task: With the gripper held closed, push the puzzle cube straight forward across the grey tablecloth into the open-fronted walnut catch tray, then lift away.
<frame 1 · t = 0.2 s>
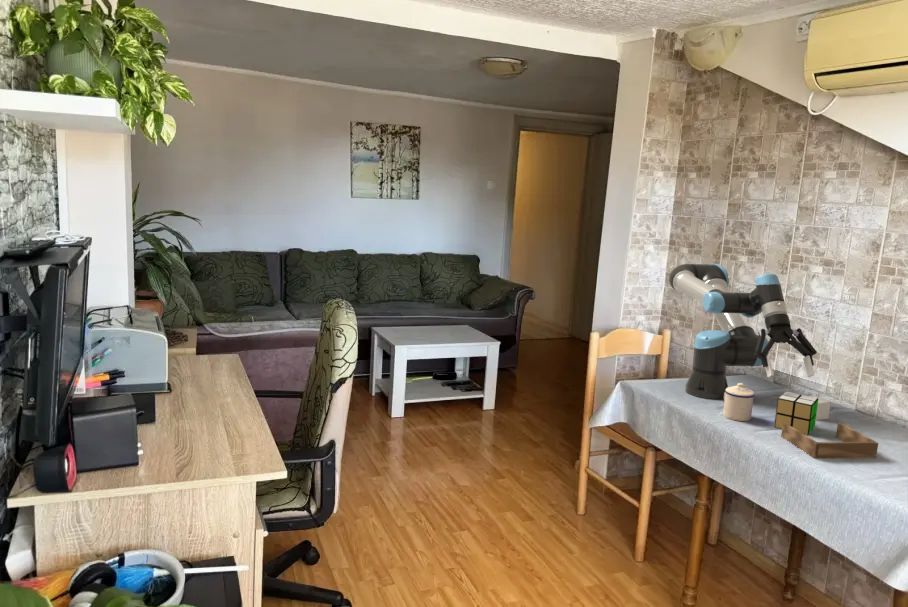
hand: (791, 376, 211), 15 cm above the table, tool tilted 35°, fingers open, 13 cm apart
puzzle cube: (794, 428, 208), on the table
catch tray: (826, 446, 192), on the table
cream white cube: (814, 417, 219), on the table
teacup with lid: (734, 415, 217), on the table
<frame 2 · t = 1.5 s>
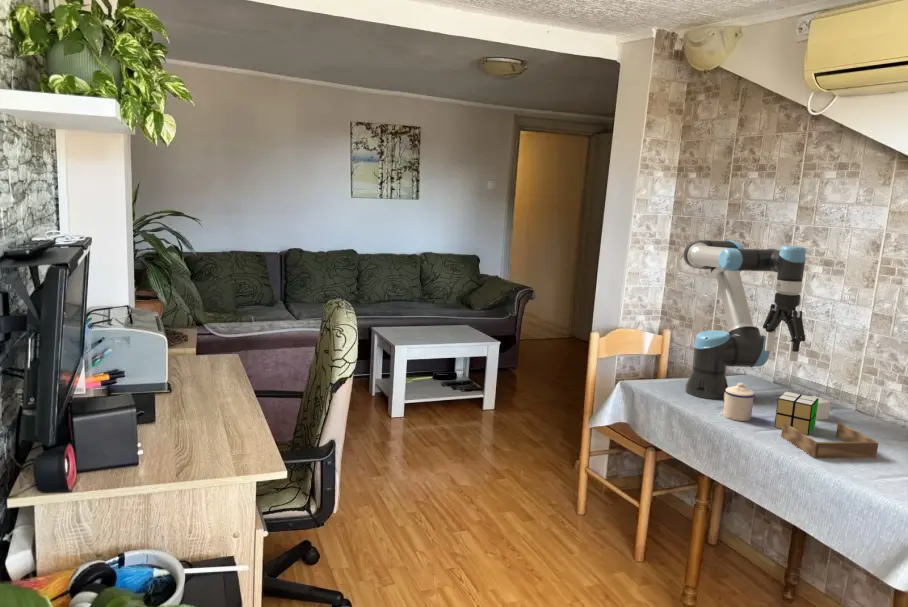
hand: (780, 355, 216), 21 cm above the table, tool pointing down, fingers open, 13 cm apart
nothing on the table moved.
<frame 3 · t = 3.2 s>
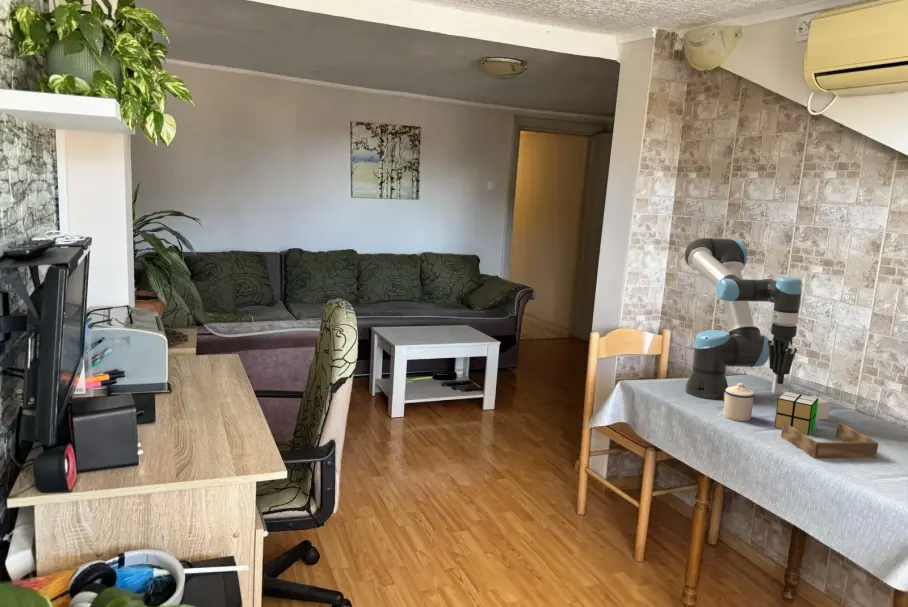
hand: (776, 392, 217), 8 cm above the table, tool pointing down, fingers closed
nothing on the table moved.
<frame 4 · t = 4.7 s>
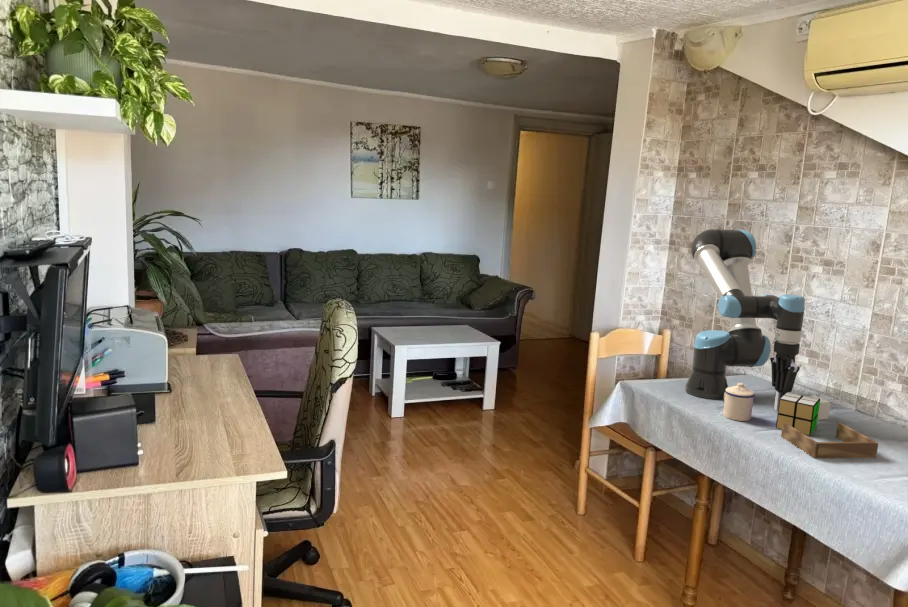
hand: (779, 409, 216), 3 cm above the table, tool pointing down, fingers closed
puzzle cube: (796, 428, 207), on the table, touching gripper
everything else where it was.
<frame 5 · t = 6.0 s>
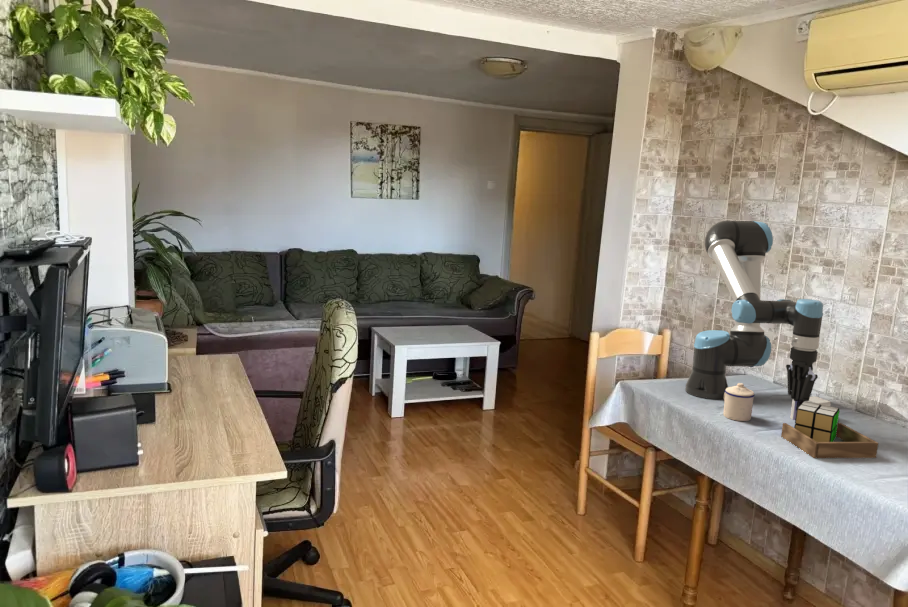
hand: (795, 419, 207), 3 cm above the table, tool pointing down, fingers closed
puzzle cube: (814, 439, 198), on the table, touching gripper
everything else where it was.
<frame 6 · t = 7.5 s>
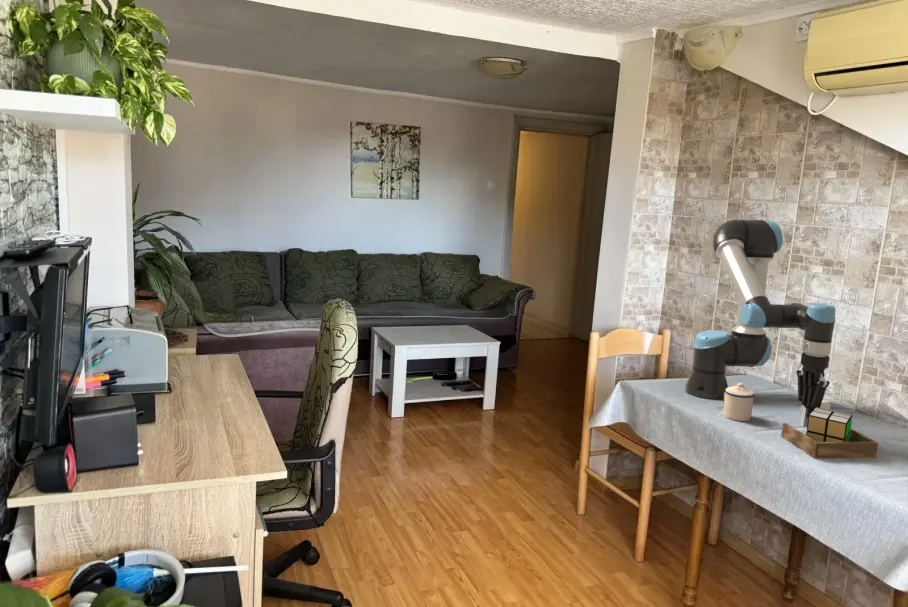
hand: (805, 426, 202), 2 cm above the table, tool pointing down, fingers closed
puzzle cube: (826, 447, 192), on the table, touching gripper
everything else where it was.
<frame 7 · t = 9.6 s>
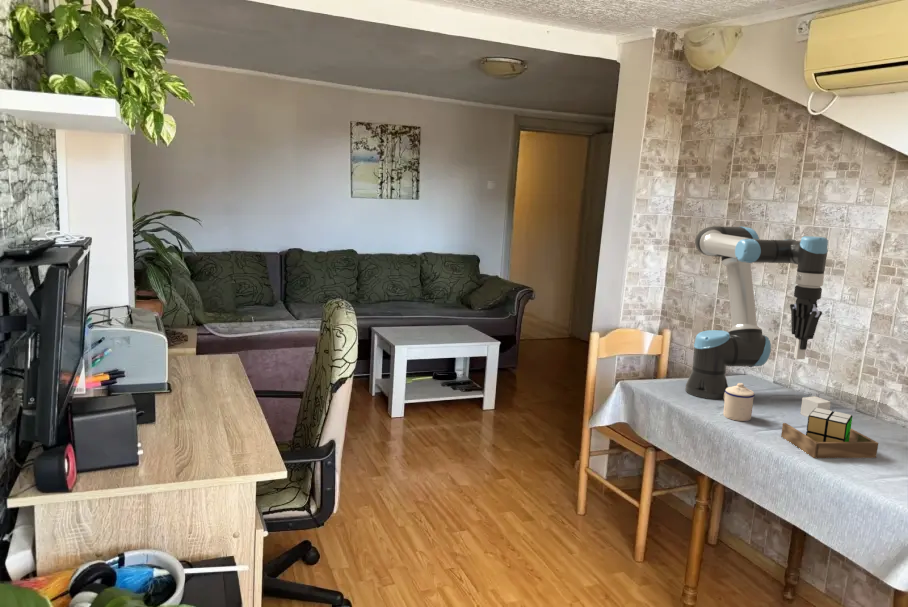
hand: (799, 358, 206), 22 cm above the table, tool pointing down, fingers closed
puzzle cube: (826, 447, 192), on the table
everything else where it was.
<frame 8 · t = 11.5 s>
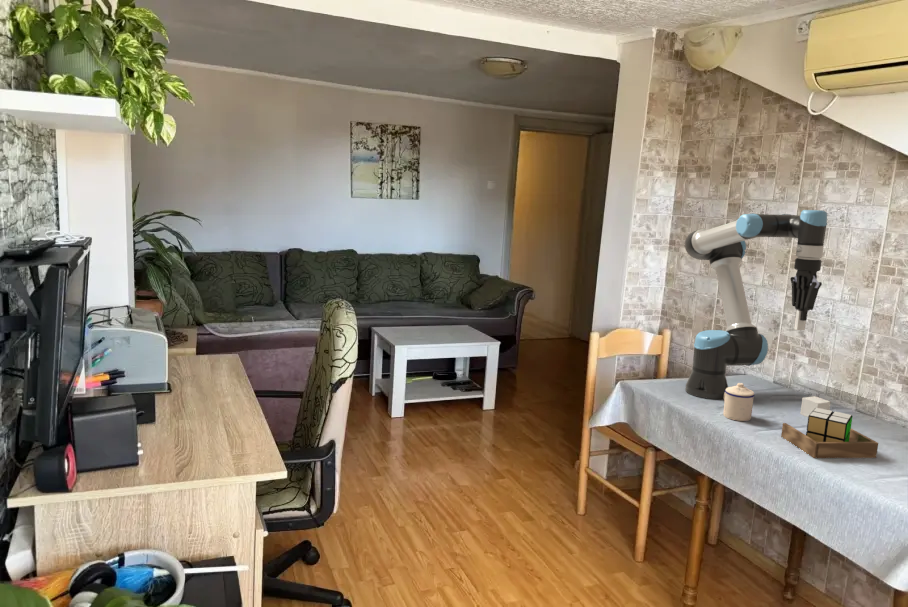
hand: (799, 329, 211), 30 cm above the table, tool pointing down, fingers closed
nothing on the table moved.
at the end: puzzle cube inside the target area on the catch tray (0.8 cm from its centre), point 0.0 cm above the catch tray's base; puzzle cube tilted 0° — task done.
